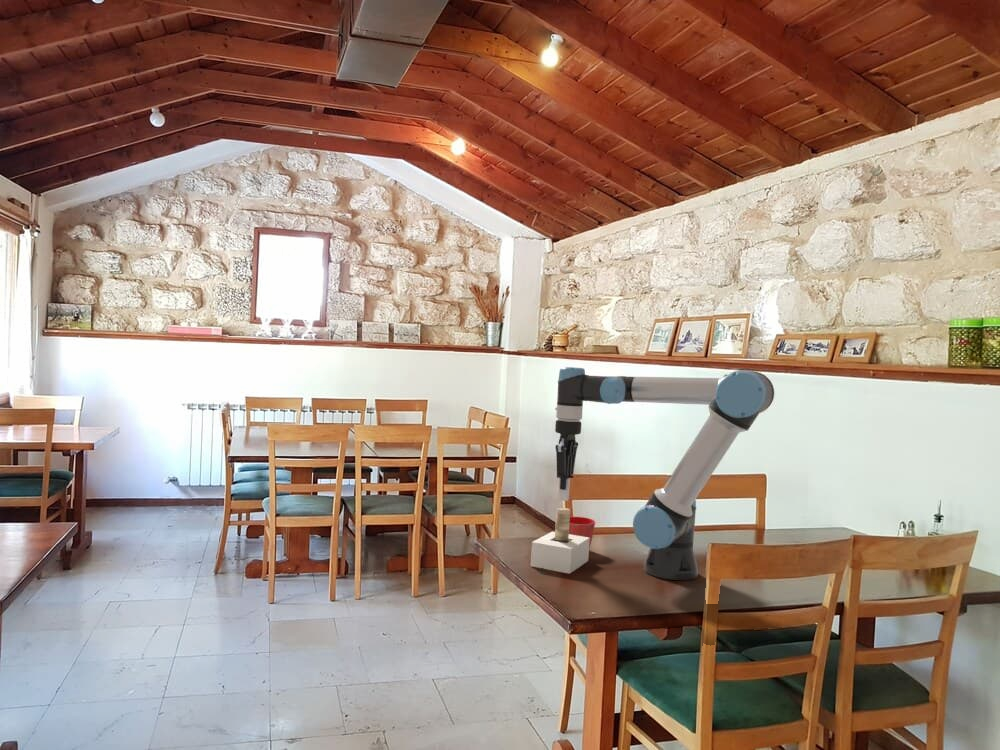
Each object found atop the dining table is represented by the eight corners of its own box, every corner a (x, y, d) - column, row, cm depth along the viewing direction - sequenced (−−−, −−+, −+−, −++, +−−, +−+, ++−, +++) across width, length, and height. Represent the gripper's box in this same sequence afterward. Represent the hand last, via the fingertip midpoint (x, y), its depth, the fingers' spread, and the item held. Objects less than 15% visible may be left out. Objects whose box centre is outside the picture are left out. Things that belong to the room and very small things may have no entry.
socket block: (588, 560, 224) (589, 537, 224) (569, 573, 210) (571, 548, 209) (551, 554, 229) (552, 531, 229) (530, 566, 215) (531, 542, 215)
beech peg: (569, 556, 220) (572, 509, 220) (564, 559, 217) (567, 511, 216) (556, 553, 222) (559, 507, 222) (551, 557, 218) (554, 509, 218)
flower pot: (555, 552, 232) (557, 521, 231) (564, 544, 242) (565, 514, 242) (589, 557, 228) (591, 525, 228) (596, 548, 239) (598, 518, 238)
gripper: (564, 417, 226) (559, 495, 226) (548, 419, 214) (543, 501, 215) (588, 419, 222) (583, 498, 223) (573, 422, 211) (567, 505, 211)
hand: (563, 500), depth 219 cm, fingers closed
